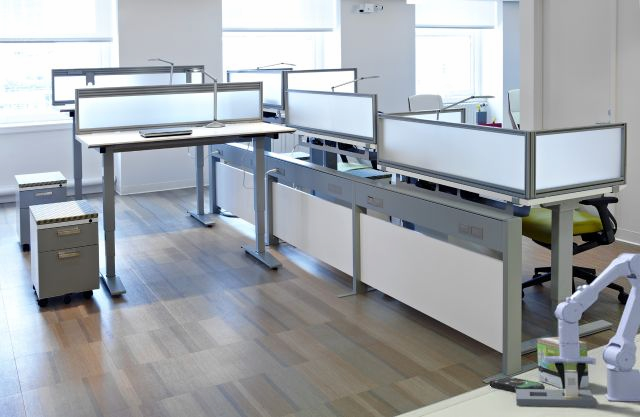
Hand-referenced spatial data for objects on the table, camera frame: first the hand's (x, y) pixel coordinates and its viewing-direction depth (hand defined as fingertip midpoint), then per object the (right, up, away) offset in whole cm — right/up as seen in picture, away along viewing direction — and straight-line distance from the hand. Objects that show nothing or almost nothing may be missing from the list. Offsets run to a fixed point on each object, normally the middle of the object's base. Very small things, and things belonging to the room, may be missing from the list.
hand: (571, 388), depth 230 cm
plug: (0, -3, 0) cm, 3 cm away
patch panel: (-5, -4, +1) cm, 6 cm away
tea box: (+6, -5, +25) cm, 26 cm away
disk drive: (-11, -6, +20) cm, 24 cm away
